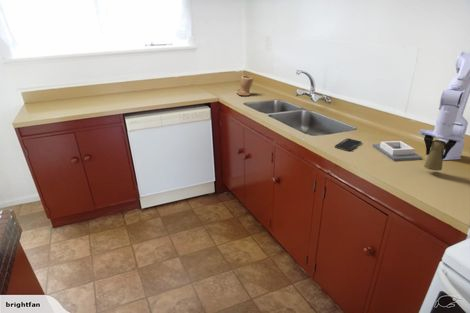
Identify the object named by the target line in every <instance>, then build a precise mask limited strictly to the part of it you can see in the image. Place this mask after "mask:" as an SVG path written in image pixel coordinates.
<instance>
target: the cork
mask: <svg viewBox="0 0 470 313" xmlns="http://www.w3.org/2000/svg"><path fill="white" fill-rule="evenodd" d="M446 145H447V144H446V142H444V141H441V140H439V139H433V141H432V143H431V149H430V153H429V154H428V155H427V158H426V160H425V162H424V166H423V167H424V168H425V169H427V170H431V171H442V168H443V162H444V160H443V159H442V158H443V153H444V150H445V149H446Z"/></svg>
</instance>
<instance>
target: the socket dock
mask: <svg viewBox="0 0 470 313" xmlns="http://www.w3.org/2000/svg"><path fill="white" fill-rule="evenodd" d="M372 147H373V148H374V149H376V150H378V151H379V152H380V153H381V154H383V155H385V156H386V157H387V158H389V159H390V160H392V161H393V162H394V161H395V162H397V161H413V160H414V161H415V160H421V159H422V156H421V155H419V154H417V153H415V148H414V147H412V146H411V145H409V144H406V143H405V142H403V141H401V140H392V141H390V140H389V141H380V143H373V144H372Z"/></svg>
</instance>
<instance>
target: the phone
mask: <svg viewBox="0 0 470 313" xmlns="http://www.w3.org/2000/svg"><path fill="white" fill-rule="evenodd" d="M362 143H363V141H361V140H357V139H353V138H345V139H344V140H342V141H340V142H339V143H337V144H335V145H334V148H335V149H338V150H340V151H341V150H342V151H344V152H352V151H354V149H356V148H357V147H359V146H361V145H362Z"/></svg>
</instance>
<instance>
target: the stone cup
mask: <svg viewBox="0 0 470 313" xmlns="http://www.w3.org/2000/svg"><path fill="white" fill-rule="evenodd" d="M253 81H254V78H253V77H252V76H249V75H242V76H241V77H240V88H237V89H235V92H236V93H237V94H238V95H240V96H244V97H246V96H250V95H251V92H250V90H251V87H252V85H253Z"/></svg>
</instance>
